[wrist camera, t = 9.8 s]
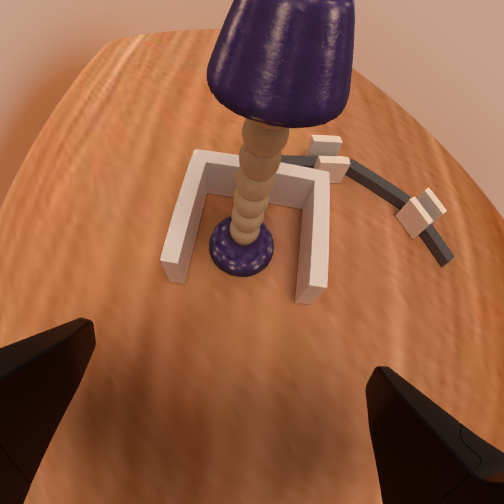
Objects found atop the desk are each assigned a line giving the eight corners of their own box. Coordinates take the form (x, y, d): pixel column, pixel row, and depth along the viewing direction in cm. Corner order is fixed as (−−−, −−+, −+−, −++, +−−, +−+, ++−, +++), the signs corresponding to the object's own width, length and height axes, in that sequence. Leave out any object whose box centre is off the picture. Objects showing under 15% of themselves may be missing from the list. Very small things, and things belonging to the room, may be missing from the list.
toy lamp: (254, 205, 22) (300, -39, 7) (296, 255, 21) (413, 12, 5) (197, 239, 20) (171, -30, 5) (237, 295, 19) (286, 11, 4)
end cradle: (309, 304, 19) (327, 288, 16) (169, 281, 19) (159, 260, 16) (315, 200, 23) (329, 172, 19) (196, 180, 22) (194, 149, 19)
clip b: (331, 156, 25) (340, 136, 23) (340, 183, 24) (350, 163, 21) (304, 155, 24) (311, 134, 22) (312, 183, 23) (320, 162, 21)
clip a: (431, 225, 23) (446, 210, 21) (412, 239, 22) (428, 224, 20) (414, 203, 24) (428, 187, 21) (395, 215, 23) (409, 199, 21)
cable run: (446, 270, 21) (453, 265, 20) (251, 185, 23) (252, 177, 22) (449, 216, 24) (455, 211, 23) (276, 138, 25) (278, 129, 24)
